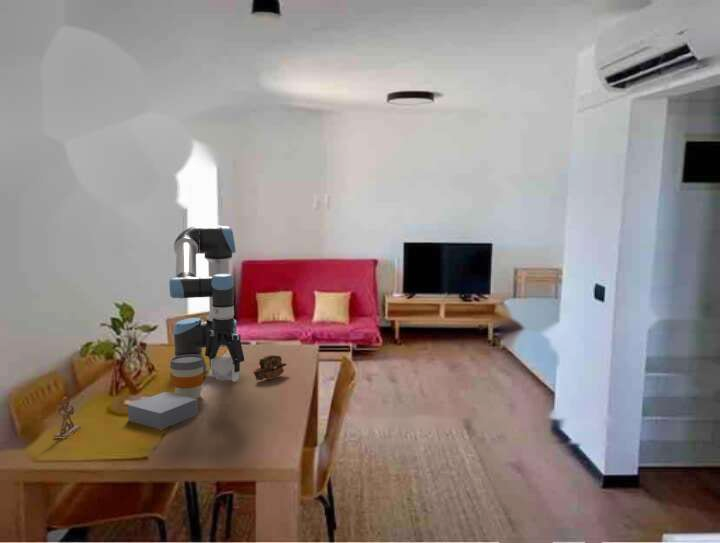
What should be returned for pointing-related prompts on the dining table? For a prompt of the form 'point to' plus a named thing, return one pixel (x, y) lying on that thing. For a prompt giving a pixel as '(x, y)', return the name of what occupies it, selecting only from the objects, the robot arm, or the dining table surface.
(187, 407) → the slate block
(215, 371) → the die
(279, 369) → the wooden carving
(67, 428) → the brown figurine
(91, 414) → the dining table surface
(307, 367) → the dining table surface
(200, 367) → the reusable coffee cup
